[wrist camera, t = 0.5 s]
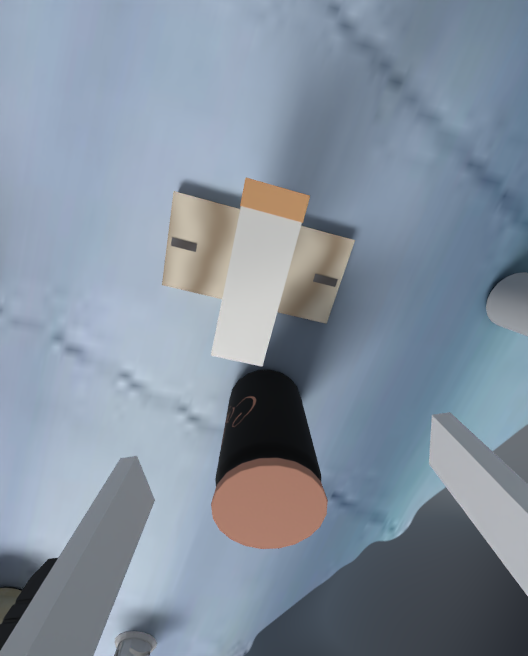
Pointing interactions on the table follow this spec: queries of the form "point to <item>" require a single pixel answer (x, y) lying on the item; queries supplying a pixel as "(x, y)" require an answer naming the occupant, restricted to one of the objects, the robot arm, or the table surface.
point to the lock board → (216, 247)
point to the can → (510, 303)
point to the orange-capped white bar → (257, 270)
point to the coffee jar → (267, 466)
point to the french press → (134, 644)
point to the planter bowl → (7, 600)
